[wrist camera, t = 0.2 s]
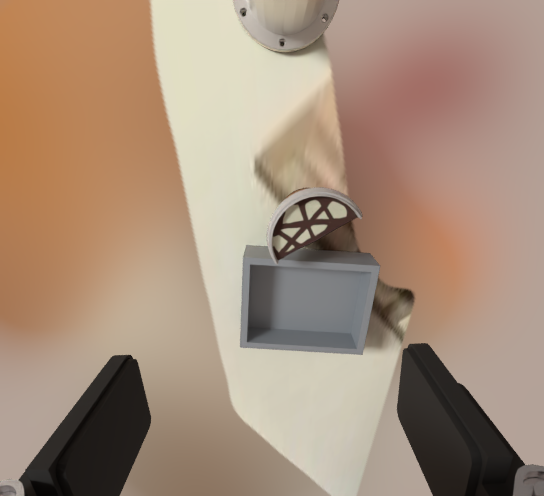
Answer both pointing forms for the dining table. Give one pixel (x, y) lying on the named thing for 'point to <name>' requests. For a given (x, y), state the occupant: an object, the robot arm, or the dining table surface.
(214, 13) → the dining table surface
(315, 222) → the food container
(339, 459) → the dining table surface
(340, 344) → the bin
